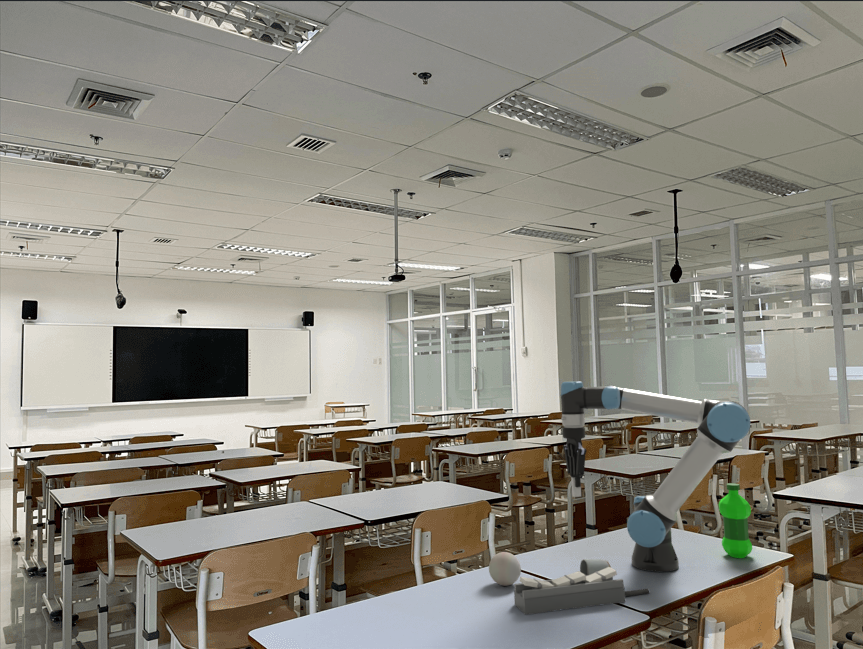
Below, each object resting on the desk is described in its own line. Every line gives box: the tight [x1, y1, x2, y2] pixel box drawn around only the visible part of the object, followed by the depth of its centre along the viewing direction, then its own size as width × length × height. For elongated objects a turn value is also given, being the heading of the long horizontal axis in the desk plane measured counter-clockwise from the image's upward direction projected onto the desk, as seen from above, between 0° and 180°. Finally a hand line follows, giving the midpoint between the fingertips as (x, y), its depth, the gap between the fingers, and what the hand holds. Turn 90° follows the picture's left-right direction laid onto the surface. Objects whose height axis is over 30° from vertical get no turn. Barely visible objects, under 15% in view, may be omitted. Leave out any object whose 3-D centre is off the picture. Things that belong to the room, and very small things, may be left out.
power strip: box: [513, 575, 650, 616], centre depth 184 cm, size 41×8×6 cm, turn 104°
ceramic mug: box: [579, 558, 612, 576], centre depth 201 cm, size 11×8×8 cm
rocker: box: [584, 567, 618, 583], centre depth 185 cm, size 9×4×1 cm, turn 104°
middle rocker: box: [551, 570, 586, 587], centre depth 183 cm, size 9×4×1 cm, turn 104°
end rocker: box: [519, 576, 554, 588], centre depth 181 cm, size 9×4×1 cm, turn 104°
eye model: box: [488, 551, 522, 587], centre depth 200 cm, size 10×10×10 cm
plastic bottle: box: [717, 482, 753, 559], centre depth 224 cm, size 10×10×25 cm
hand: (576, 496), depth 215 cm, fingers closed
